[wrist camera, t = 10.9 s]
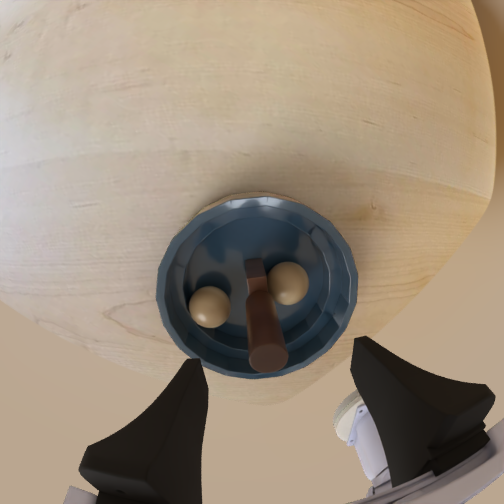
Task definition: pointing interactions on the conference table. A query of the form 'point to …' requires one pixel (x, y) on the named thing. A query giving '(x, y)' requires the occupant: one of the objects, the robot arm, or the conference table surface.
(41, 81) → the conference table surface
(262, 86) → the conference table surface
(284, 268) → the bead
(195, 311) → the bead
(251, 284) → the stir paddle
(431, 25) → the conference table surface
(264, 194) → the bowl
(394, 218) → the conference table surface
